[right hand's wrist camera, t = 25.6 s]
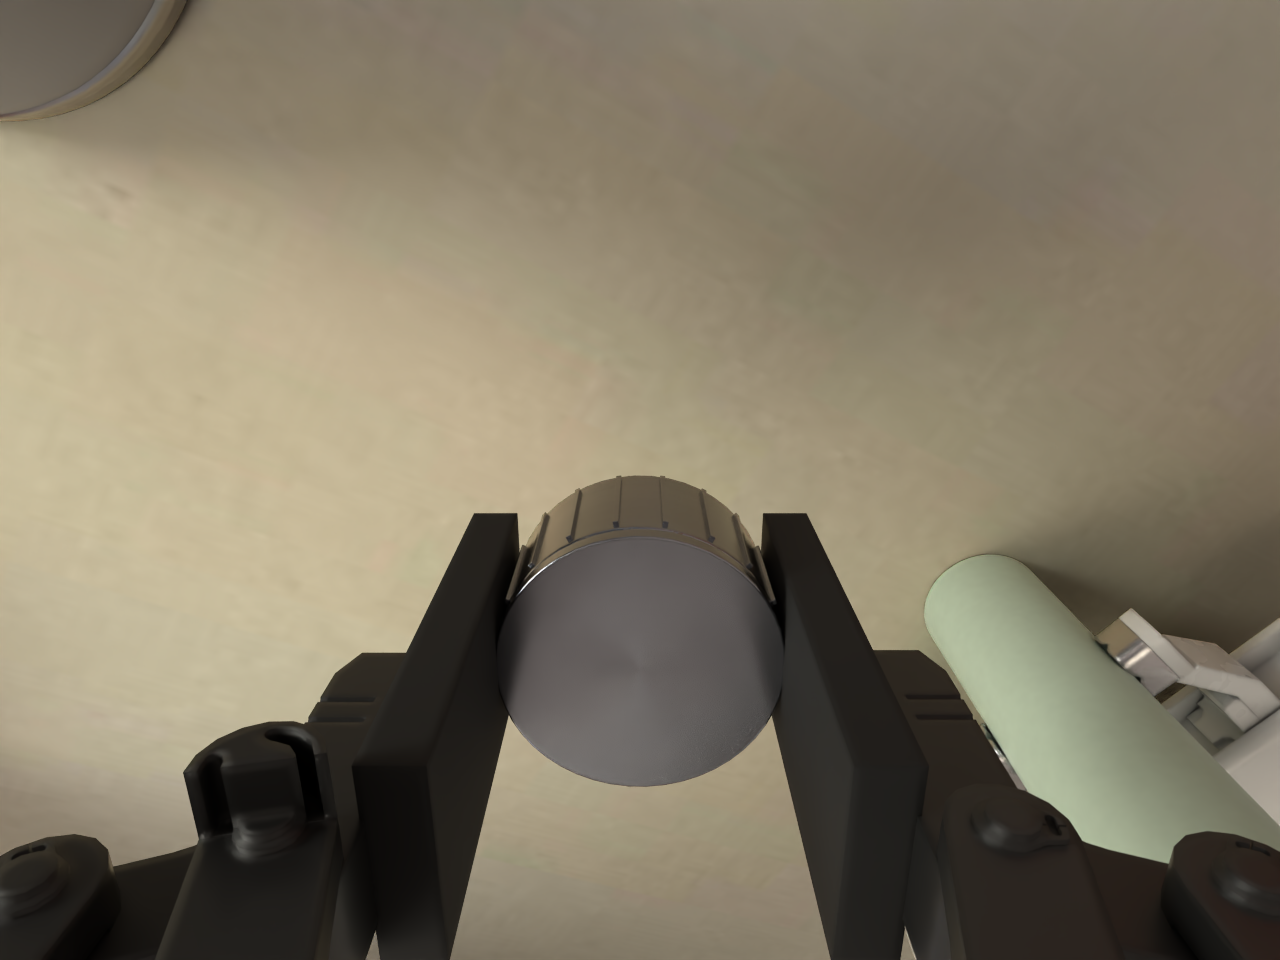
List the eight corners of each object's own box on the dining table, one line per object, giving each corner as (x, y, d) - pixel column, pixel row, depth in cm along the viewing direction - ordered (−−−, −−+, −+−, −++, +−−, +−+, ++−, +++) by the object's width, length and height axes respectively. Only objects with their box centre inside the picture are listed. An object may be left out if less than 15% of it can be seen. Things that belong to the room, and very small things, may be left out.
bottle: (899, 622, 32) (1401, 1493, 11) (975, 533, 31) (1711, 1330, 10) (988, 674, 33) (1610, 1577, 12) (1065, 590, 32) (1922, 1438, 11)
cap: (510, 685, 15) (487, 780, 13) (519, 460, 14) (493, 521, 11) (747, 702, 16) (766, 799, 13) (782, 481, 14) (811, 546, 12)
